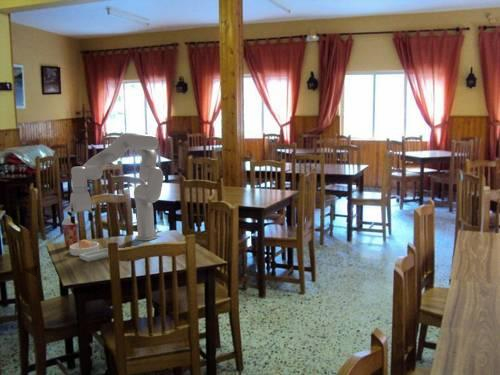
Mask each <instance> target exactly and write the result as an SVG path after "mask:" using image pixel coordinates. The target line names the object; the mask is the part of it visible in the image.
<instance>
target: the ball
mask: <svg viewBox="0 0 500 375" xmlns="http://www.w3.org/2000/svg"><path fill="white" fill-rule="evenodd" d="M90 242H91V241H89V240H88V239H81V240H80V241H78V243H79V249H83V248H90Z"/></svg>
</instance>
